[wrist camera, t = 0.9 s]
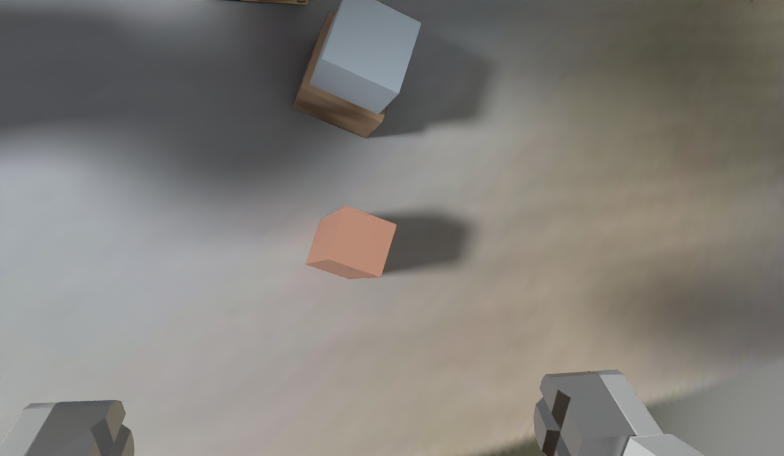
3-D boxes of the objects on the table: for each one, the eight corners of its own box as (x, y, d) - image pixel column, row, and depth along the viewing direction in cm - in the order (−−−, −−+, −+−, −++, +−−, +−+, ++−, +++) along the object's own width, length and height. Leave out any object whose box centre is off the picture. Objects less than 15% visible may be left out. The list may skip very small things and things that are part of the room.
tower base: (291, 107, 46) (301, 87, 42) (317, 38, 48) (328, 11, 43) (365, 138, 48) (382, 122, 43) (387, 71, 50) (406, 48, 45)
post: (305, 264, 45) (328, 259, 37) (320, 220, 46) (345, 205, 37) (349, 278, 46) (380, 277, 38) (362, 235, 47) (396, 224, 39)
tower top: (308, 84, 42) (321, 58, 37) (332, 18, 43) (348, -14, 38) (378, 114, 43) (398, 93, 39) (399, 50, 45) (421, 23, 40)
